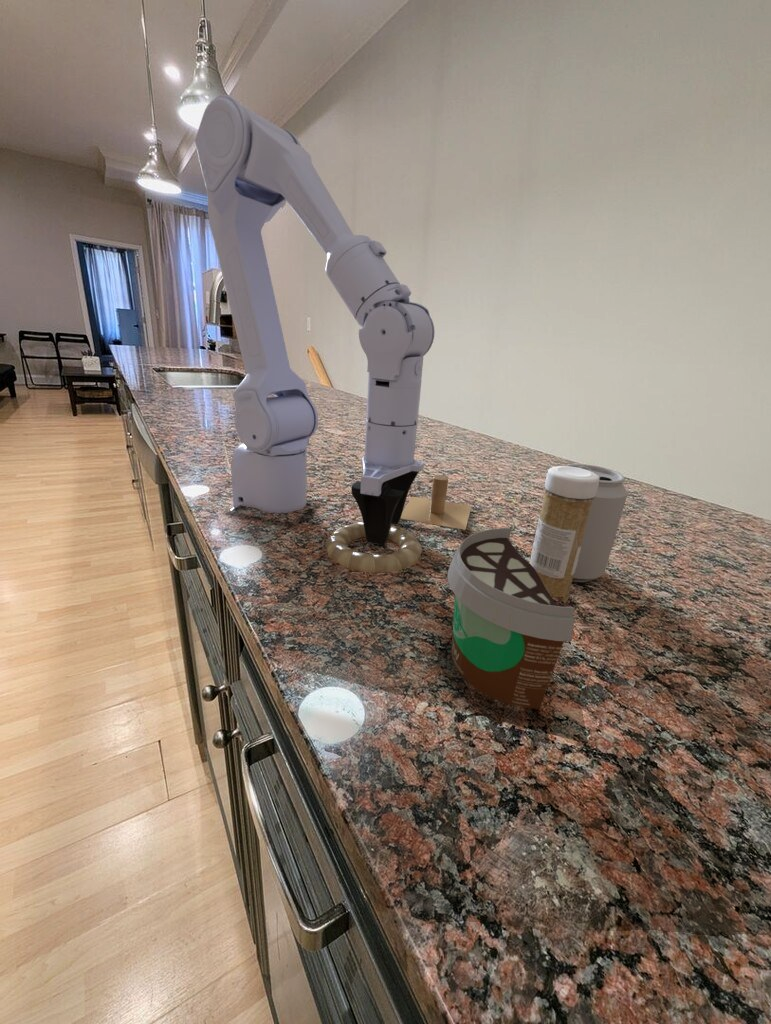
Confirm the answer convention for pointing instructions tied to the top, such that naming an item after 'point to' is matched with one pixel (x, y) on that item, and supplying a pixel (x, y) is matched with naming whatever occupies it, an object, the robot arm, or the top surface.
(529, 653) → the food container
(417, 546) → the ring
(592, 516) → the can
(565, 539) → the spice jar
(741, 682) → the top surface
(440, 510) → the post
